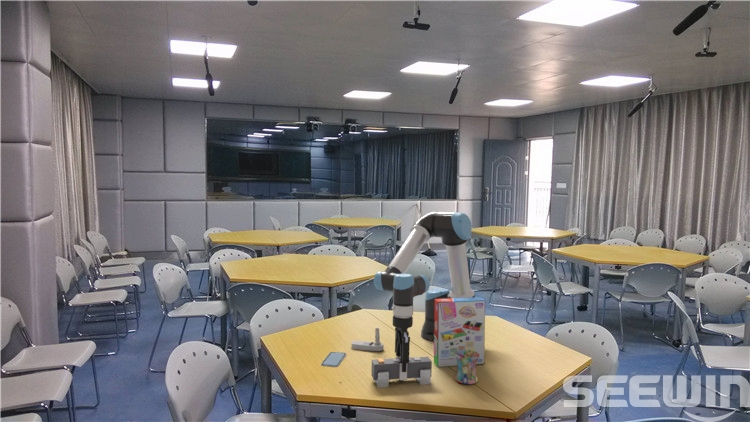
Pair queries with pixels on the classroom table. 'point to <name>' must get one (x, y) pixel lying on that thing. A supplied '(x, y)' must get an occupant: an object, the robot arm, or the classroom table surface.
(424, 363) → the power strip
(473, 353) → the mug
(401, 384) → the classroom table surface
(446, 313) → the game box
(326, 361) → the smartphone
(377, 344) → the electronic device
